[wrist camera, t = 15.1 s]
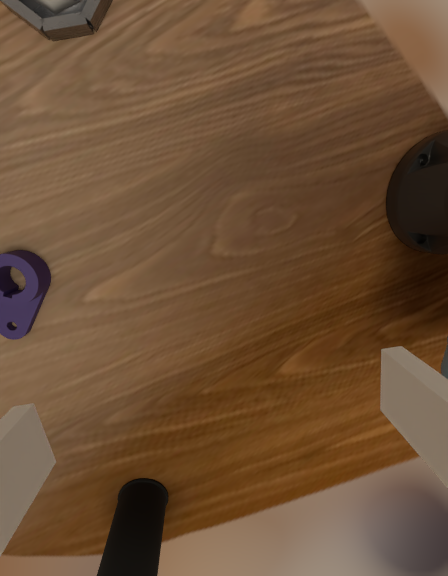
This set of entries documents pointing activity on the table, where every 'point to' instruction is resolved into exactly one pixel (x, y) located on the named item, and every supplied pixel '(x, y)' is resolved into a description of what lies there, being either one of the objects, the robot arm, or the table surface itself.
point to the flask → (56, 4)
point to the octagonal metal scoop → (61, 17)
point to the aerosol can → (136, 531)
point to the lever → (21, 292)
